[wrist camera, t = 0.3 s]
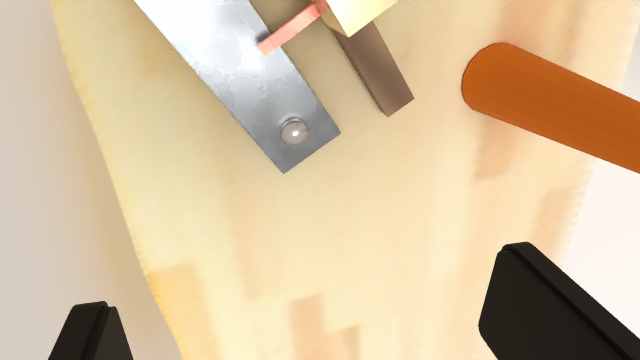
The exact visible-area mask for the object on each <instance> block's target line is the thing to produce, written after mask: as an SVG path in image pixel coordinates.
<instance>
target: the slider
mask: <svg viewBox="0 0 640 360" xmlns="http://www.w3.org/2000/svg"><path fill="white" fill-rule="evenodd" d="M311 1H312V3H311V4H310V5H308V6H307V7H306V8H305V9H303V10H302V11H301V12H299V13H298V14H297V15H295V16H294V17H293V18H291V19H290V20H289V21H288V22H286V23H285V24H284V25H282V26H281V27H280V28H278V29H277V30H276V31H274V32H273V33H272V34H270V35H269V36H268V37H267V38H265V39H264V40H263V41H261V42H260V43H259V44H257V47H258V49H259V50H260V51H261V53H262V54H263V56H264V57H267V56H268V55H269V54H271V53H272V52H273V51H274V50H276V49H277V48H278V47H280V46H281V45H282V44H284V43H285V42H286V41H288V40H289V39H290V38H292V37H293V36H294V35H296V34H297V33H298V32H300V31H301V30H302V29H304V28H305V27H306V26H308V25H309V24H310V23H311V22H313V21H314V20H315V19H317V18H318V17H319V16H321V18H322V19H323V21H324V23H325V24H326V25H328V26H329V27H331V28H333V29H334V30H336V31H338V32H340V33H341V34H343V35H345V36H347V37H348V38H349V37H350V36H352V35H353V34H354V33H356V32H357V31H358V30H360V29H361V28H362V27H364V26H365V25H366V24H368V23H369V22H370V21H372V20H373V19H374V18H376V17H377V16H379V15H380V14H381V13H383V12H384V11H385V10H387V9H388V8H389V7H391V6H392V5H393V4H395V3H396V2H397V1H399V0H311Z"/></svg>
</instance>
